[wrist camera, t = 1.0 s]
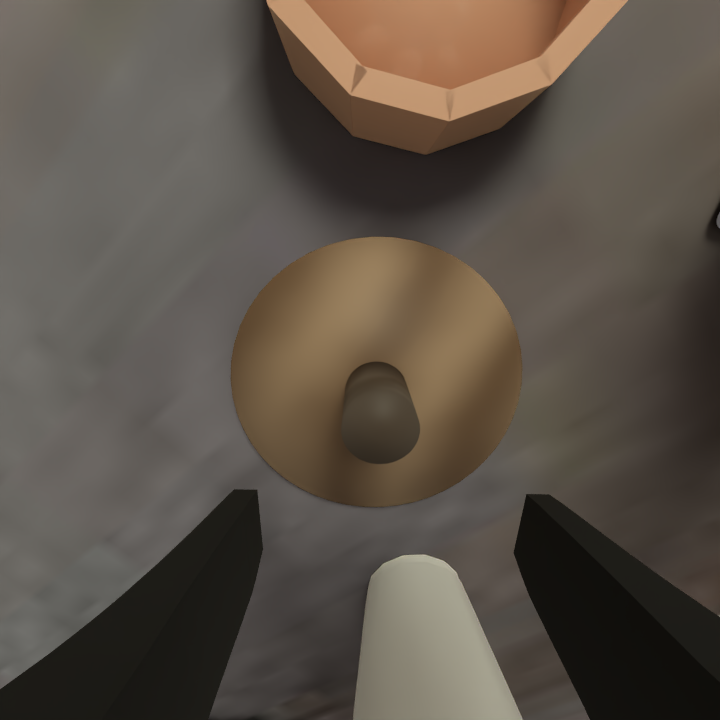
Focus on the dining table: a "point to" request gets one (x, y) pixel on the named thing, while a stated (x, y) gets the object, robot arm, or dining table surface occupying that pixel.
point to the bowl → (433, 61)
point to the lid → (376, 371)
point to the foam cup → (426, 649)
